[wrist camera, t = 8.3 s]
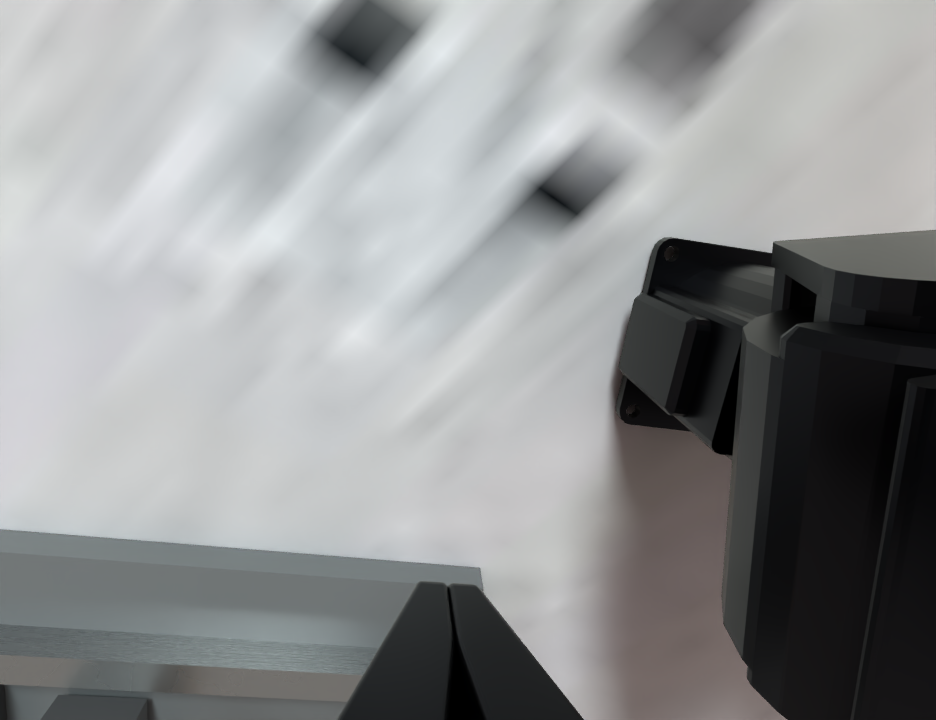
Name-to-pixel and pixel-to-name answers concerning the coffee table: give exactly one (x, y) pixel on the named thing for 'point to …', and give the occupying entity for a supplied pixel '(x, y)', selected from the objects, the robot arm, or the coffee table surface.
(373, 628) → the panel
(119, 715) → the handle
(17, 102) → the coffee table surface
